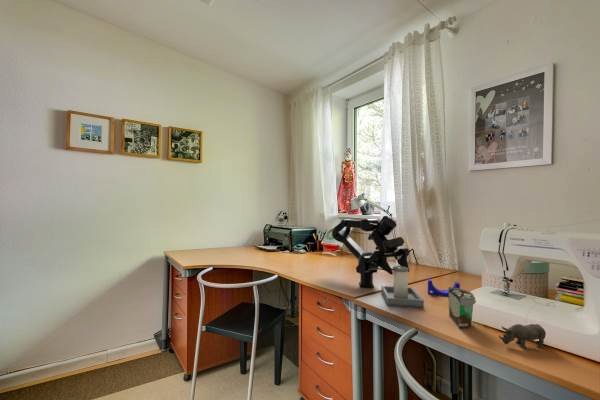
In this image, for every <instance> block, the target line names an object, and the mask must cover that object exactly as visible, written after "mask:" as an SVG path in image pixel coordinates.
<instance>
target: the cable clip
mask: <svg viewBox="0 0 600 400" xmlns="http://www.w3.org/2000/svg"><path fill="white" fill-rule="evenodd" d="M452 287H453V288H459V289H461V284H460V282H459V281H454V284H453V286H452ZM448 289H449V288H447V289H442V290H441V289H438V288H437V287H436V286H435V285H434V283H433V280H432V278H427V294H428V295H431V294H432V296H439V295H442V296H441V297H447V296H449V293H448Z"/></svg>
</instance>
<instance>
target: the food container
mask: <svg viewBox="0 0 600 400" xmlns="http://www.w3.org/2000/svg"><path fill="white" fill-rule="evenodd" d="M447 289H448V293H449V297H448V316H449V319H450V320H451V321H452V322H453V323H454V324H455V325H456V327H457V328H458V329H459V330H461V329H462V330H463V329H465V330H466V329H470V328H471V327H472V320H473V311H474V310H473V309H474V305H476V303H477V301H476V297H475V294H474V293H473V292H471V291H469V290H466V289H463V288H460V289H459V288H453V286H451V287H450V286H448V288H447Z"/></svg>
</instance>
